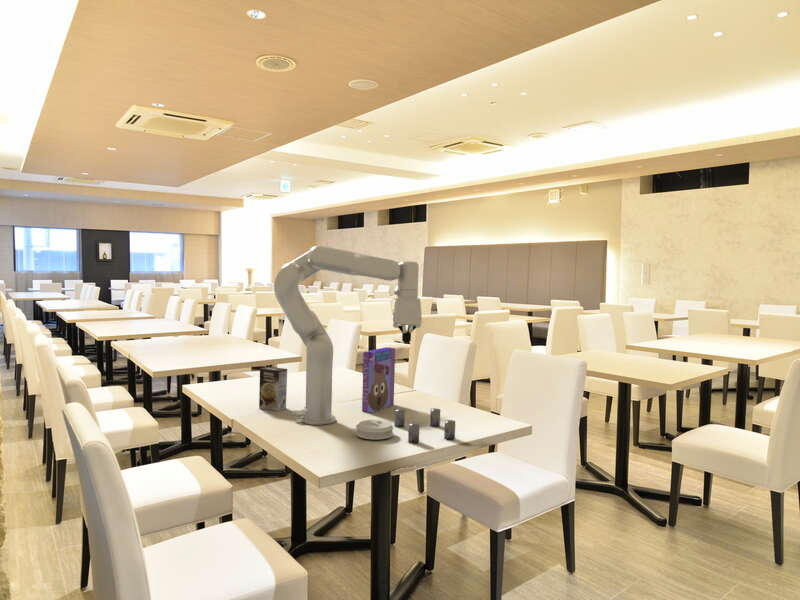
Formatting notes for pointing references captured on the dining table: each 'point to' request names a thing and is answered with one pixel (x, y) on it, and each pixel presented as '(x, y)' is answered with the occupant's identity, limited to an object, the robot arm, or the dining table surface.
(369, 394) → the cereal box
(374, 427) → the lid
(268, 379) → the coffee box
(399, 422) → the post field
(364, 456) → the dining table surface
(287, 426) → the dining table surface
